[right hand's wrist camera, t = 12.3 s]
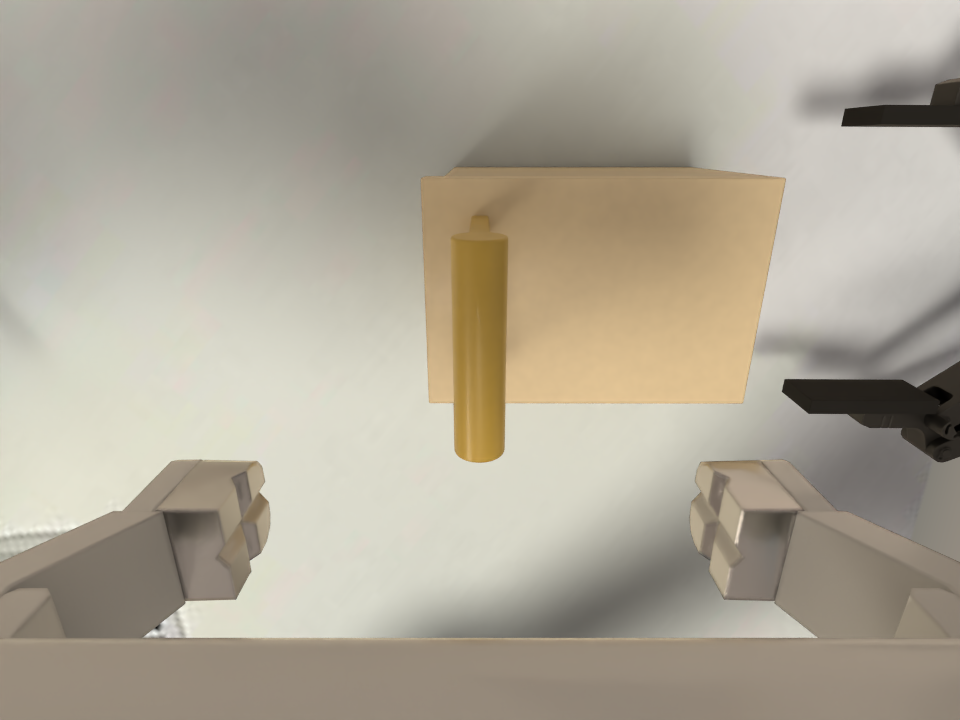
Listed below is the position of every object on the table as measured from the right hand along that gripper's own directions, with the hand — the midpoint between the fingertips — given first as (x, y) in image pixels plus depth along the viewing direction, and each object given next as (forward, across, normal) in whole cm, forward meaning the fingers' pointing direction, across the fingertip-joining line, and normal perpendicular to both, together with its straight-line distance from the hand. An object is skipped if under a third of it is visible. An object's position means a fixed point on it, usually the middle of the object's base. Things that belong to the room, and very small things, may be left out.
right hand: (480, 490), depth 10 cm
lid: (+15, +5, 0) cm, 16 cm away
